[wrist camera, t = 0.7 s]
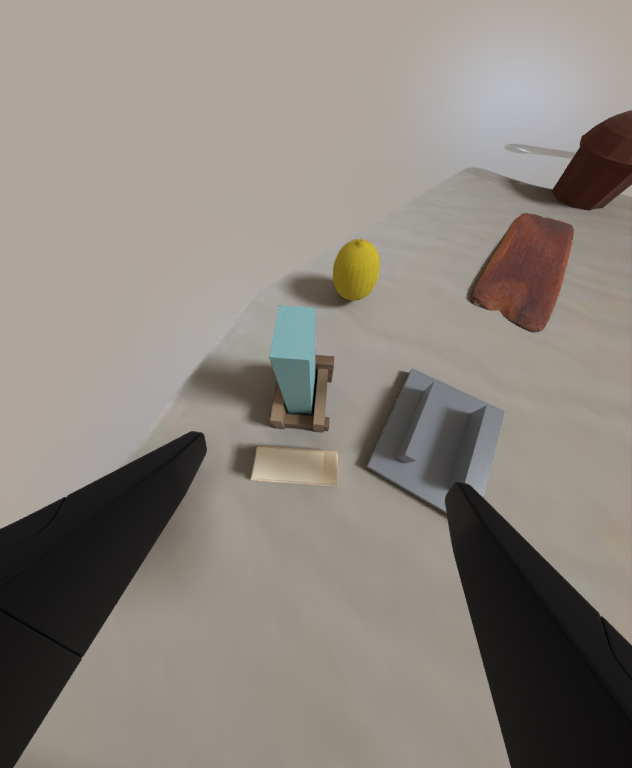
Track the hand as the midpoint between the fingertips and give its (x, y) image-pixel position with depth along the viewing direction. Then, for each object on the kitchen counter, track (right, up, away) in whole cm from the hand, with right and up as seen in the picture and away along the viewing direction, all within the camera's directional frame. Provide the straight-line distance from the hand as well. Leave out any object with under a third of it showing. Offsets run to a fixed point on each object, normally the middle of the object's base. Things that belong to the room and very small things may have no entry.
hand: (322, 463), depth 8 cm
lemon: (+5, +15, +23) cm, 28 cm away
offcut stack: (-2, -5, +14) cm, 16 cm away
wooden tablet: (+32, +21, +27) cm, 47 cm away
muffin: (+48, +37, +34) cm, 69 cm away
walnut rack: (-2, +1, +17) cm, 17 cm away
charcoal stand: (+12, -3, +15) cm, 20 cm away
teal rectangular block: (-2, +1, +17) cm, 17 cm away
